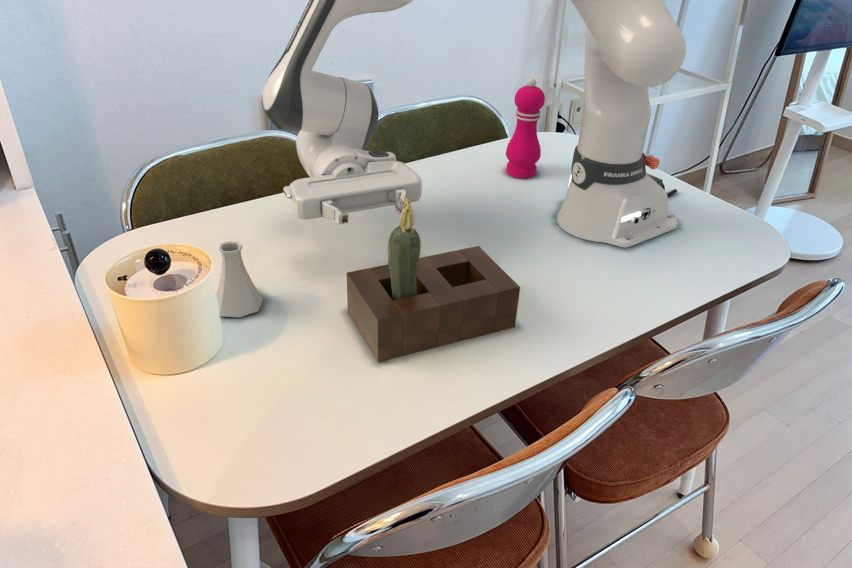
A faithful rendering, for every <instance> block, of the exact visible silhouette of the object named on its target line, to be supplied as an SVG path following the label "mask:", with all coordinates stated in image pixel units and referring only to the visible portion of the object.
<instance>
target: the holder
mask: <svg viewBox="0 0 852 568" xmlns="http://www.w3.org/2000/svg"><path fill="white" fill-rule="evenodd" d="M416 287H417V294H418V295H415V296H411V297H406V298H402V299H397V300H392V288H391V278H390V271H389V265H388V263H386V264H382V265H377V266H373V267H367V268H362V269H357V270H352V271H348V272H346V298H347V299H346V300H347V303H346V304H347V314H348V315H349V317H350V319H351V320H352V322H353V323H354V325H355V327H356V328H357V330H358V331H359V333H360V335H361V337H362V339H363V340H364V341H365V343H366V345H367V347H368V348H369V350H370V351H371V353H372V355H373V357H374V358H375V360H376V362H377V363H380V362H384V361H388V360H392V359H396V358H401V357H404V356H408V355H412V354H416V353H420V352H424V351H428V350H431V349H436V348H441V347H444V346H447V345H451V344H455V343H460V342H463V341H466V340H469V339H474V338H479V337H482V336H486V335H490V334H494V333H498V332H501V331H502V332H503V331H505V330H506V331H507V330H509V329H514V328H516V323H517V316H518V308H519V299H520V291H521V286H520V285H519V284H518V283H517V282H516V281H515V280H514V279H513V278H512V277H511V276H510V275H509V274H508V273H507V272H505V270H504V269H503V268H502V267H501V266H500V265H499V264H497V262H496V261H495V260H494V259H493V258H492V257H491V256H489V255H488V253H487V252H486V251H485V250H484V249H483V248H481V247H480V245H474V246H471V247H466V248H465V247H464V248H460V249H456V250H451V251H446V252H441V253H437V254H431V255H427V256H422V257H419V262H418V268H417V275H416Z"/></svg>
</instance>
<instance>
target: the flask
mask: <svg viewBox="0 0 852 568" xmlns="http://www.w3.org/2000/svg"><path fill="white" fill-rule="evenodd" d="M242 250H243V244H241V243H240V241H236V240H235V241H233V240H230V241H225V242H221V243H220V245H219V247H218V251H219V252H220V253H221V259H222V260H221V261H222V262H221V273H220V278H219V282H218V286H217V289H216V293H217V298H218V303H219V308H220V316H219V317H225V318H226V317H227V318H242V317H245V316H248V315H251V314H254V313H257V312H259V310H260V309H261V306H262V304H263V301H264V300H263V297H262V296H261V294H260V292H259V291H258V289H257V287H256V285H255V284H254V283H253V280H252V278H251V276H250V275H249V272H248V271H247V269H246V267H245V263H244V261H243V257H242Z"/></svg>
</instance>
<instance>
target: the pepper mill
mask: <svg viewBox="0 0 852 568" xmlns="http://www.w3.org/2000/svg"><path fill="white" fill-rule="evenodd" d="M536 85H537V80H536V79H535V78H532V77H531V78H529V79H527V82H526V85H523V86H521V87H520V88H518V90H517V91H516V92H515V95H514V104H515V106H516V109H515V114H514V116H515V118H516V125H515V129H514V132H513V134H512V136H511V138H510V139H509V142H508V143H507V146H506V149H505V157H506V159H507V160H508V162H507V163H506V168H505V172H506V174H507V175H508V176H510V177H513V178H515V179H521V180H523V179H524V180H526V179H531V178H534V177H535V176H536V174H537V166H538V165H537V164H536V163H538V161H540V159H541V155H542V154H541V152H542V149H541V143H540V141H539V137H538V131H537V130H538V121H539V120H540V119H541V109H542V108H543V107H544V105H545V101H546V96H545V93H544V91H543V90H542V89H541V88H540V87H539V86H536Z"/></svg>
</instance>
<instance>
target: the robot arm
mask: <svg viewBox="0 0 852 568" xmlns="http://www.w3.org/2000/svg"><path fill="white" fill-rule="evenodd" d="M413 1H414V0H308V2H307V4H306V6H305V8H304V10H303V12H302V15H301V16H300V18H299V21H298V22H297V24H296V27H295V28H294V31H293V33H292V35H291V37H290V39H289V41H288V43H287V45H286V47H285V49H284V51H283V53H282V55H281V56H280V58H279V60H278V61H277V62H276V64H275V66H274V67H273V68H272V70H271V72H270V74H269V75H268V77H267V79H266V82H265V84H264V87H263V91H262V96H261V97H262V98H261V107H262V110H263V112H264V114H265V115H266V117H267V118H268V120H269V121H270V122H271V123H272V124H273V125H274V126H275V127H276V128H277V129H278V130H281V131H292V132H298V134H297V136H296V139H295V148H296V153H297V158H298V159H299V162H300V164H301V166H302V168H303V169H304V171H305V172H306V174H307V175H308V176H309V177H304V178H298V179H296V180H293V181H292V182H290V183H289V185H286V186H283V189H282V192H283V194H284V195H285V197H286V198H287V199H288V200H289V199H290V200H291V204H292V207H293V208H292V209H293V211H294V214H295V216H296V218H298V219H301V220H303V221H305V220H306V221H307V220H314V219H319V218H320V219H321V218H325V219H328V220H332V221H335V222H336V224H337V225H344V224H348V223H349V213H356V212H360V211H361V212H362V211H367V210H373V209H379V208H380V209H381V208H385V207H386V208H387V207H390V206H391V207H392V206H394V211H395V212H396V213H397V214H398V215H401V211H402V207H403V205H404V199H403V198H404V197H405V198H407V199H408V200H409V202H410V203H415V202H419V201H420V199H421V198H422V195H423V194H422V193H423V181H422V178H421V176H419V174H418V173H416V171H414V170H413V169H412V167H410V166H409V165H407V164H406V163H404V162H402V161H399V160H397V156H396V154H395V153H393V152H391V151H376V150H375V151H374V150H373V151H372V150H365V149H366V148H367V147H368V145H369V144H370V142H371V141H372V139H373V137H374V135H375V132H376V130H377V126H378V122H379V114H380V113H379V106H378V103H377V100H376V97H375V94H374V92H373V90H372V88H370V86H369V85H368V84H367V83H366V82H362V81H358V80H353V79H350V78H345V77H342V76H335V75H332V74H327V73H323V72H320V71H316V70H313V68H314V66H315V64H316V62H317V60H318V59H319V56H320V54H321V52H322V51H323V48H324V46H325V45H326V43H327V41H328V38H329V37H330V35H331V33H332V31H333V29H335V27H336V26H338V24H339V23H341V22H343V21H344V20H346V19H349V18H352V17H355V16H359V15H365V14H375V13H376V14H377V13H386V12H387V13H388V12H391V11H396V10H399V9H401V8H404V7H406V6H407V5H409V4H410V3H412V2H413ZM570 1H571V4H573V6H574V8H575V9H576V10H577V13H578V14H579V16H580V17H581V19H582V20H583V31H584V32H583V33H584V68H583V69H584V71H583V73H584V74H583V76H584V78H583V82H584V83H583V84H584V85H583V87H584V88H583V89H584V91H583V93H584V95H583V96H584V97H583V108H582V116H581V123H580V128H579V135H578V140H577V141H578V142H577V145H576V146H575V147H574V150H573V156H572V161H571V173H570V178H569V182H568V187H567V190H566V194H565V197H564V199H563V203H562V205H561V207H560V209H559V211H558V214H557V215H556V222H557V225H558V226H559V227H560V228H561V229H562V230H563V231H565V232H566V233H567V234H569V235H571V236H574V237H576V238H578V239H582V240H585V241H589V242H594V243H595V242H596V243H604V244H609V245H613V246H615V247H618V248H623V249H625V248H626V249H627V248H630V247H633V246H635V245H639V244H641V243H644V242H646V241H648V240H650V239H653V238H657V237H658V236H660V235H663V234H665V233H668V232H671V231H673V230H675V229H677V228H678V226H679V225H678V224H679V223H678V220H677V218H676V216H675V215H673V214H672V213H671V212H670V210H668V209H669V208H668V207H669V198H670V197H671V196H672V195H674V194H676V193H678V190H677V188H673V189H672V190H671V191H669V192H666V187H665V184H664V183H663V179H662V178H660V177H657V176H654V175H652V174H649V173H647V169H646V168H647V167H648V168H650V169H651V170H656V169H658V167H659V166H660V164H661V160H660V159H659V158H657V157H655V156H654V155H652V154H649V155H646V154H645V153H644V152H643V151H644V147H645V143H646V138H647V133H648V129H649V125H650V120H651V114H652V109H651V104H650V96H649V95H650V94H649V88H655V87H658V86H659V87H660V86H661V85H663V84H665V83H667V82H668V81H670V80H671V79H673V78H674V76H676V75H677V73H678V72H679V71H680V69H681V67H682V66H683V64H684V62H685V58H686V53H687V44H686V39H685V36H684V35H683V33H682V31H681V29H680V27H679V26H678V24H677V22H676V21H675V19H674V17H673V16H672V13H671V11H670V10H669V8H668V6H667V5H666V2H665V1H664V0H570Z"/></svg>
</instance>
